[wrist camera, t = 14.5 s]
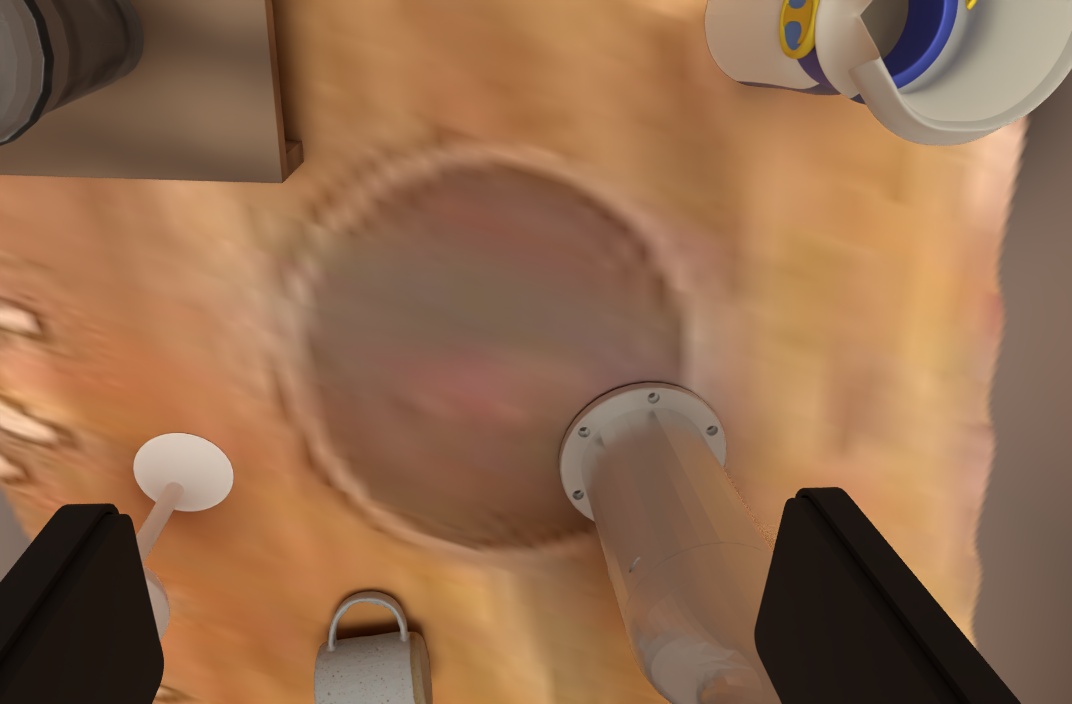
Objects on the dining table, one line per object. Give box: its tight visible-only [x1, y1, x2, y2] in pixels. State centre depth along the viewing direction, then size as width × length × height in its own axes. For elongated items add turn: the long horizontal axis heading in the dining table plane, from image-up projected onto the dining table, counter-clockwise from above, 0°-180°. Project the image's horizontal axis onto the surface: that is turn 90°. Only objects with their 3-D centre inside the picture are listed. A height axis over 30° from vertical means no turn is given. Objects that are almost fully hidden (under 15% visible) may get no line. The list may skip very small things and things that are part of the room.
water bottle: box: [705, 0, 1072, 146], centre depth 31 cm, size 8×9×25 cm
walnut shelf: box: [0, 0, 304, 183], centre depth 36 cm, size 14×16×6 cm
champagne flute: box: [133, 433, 234, 641], centre depth 40 cm, size 7×7×24 cm
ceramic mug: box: [314, 591, 433, 704], centre depth 55 cm, size 11×8×8 cm
